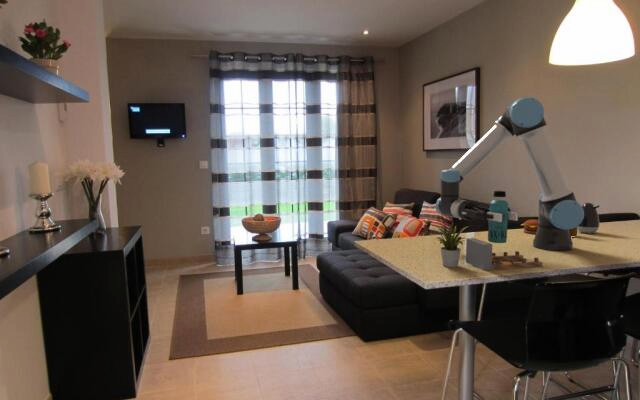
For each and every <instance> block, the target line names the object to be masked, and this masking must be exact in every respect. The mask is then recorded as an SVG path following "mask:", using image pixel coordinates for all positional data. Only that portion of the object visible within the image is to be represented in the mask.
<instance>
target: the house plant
mask: <svg viewBox="0 0 640 400" xmlns="http://www.w3.org/2000/svg"><path fill="white" fill-rule="evenodd" d="M453 225H454V222H452V223H451V226H450V229H449V230H448V229H447V226H446V225H445V224H444V223H443V222H442V223H441V227H439V226H437V225H436V224H433V223H432V226H434V227H435V231H436V232H437V233H439V235H440V236H441V237H440V236H438V237H436V238H434V239H435V240H437V242H438V241H439V245H441V244H443V246H441V247H440V256H441V260H442V266H443V267H447V268H457V267H458V266H459V263H460V257H461V256H460V255H461V250H462V248H461V247H458V246H459V245H460V244H461V245H463V244H464V243H463V242H464V241H465V242H466V240H463V239H465V237H462V236H460V234H461V233H462V232H463V231H465V230H466V229H467V228H468V227H469V226H464V227H463V228H461V229H460V231H458V232H457V224H456V225H455V226H454V228H453ZM437 229H438V230H437ZM456 232H457V233H456Z"/></svg>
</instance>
